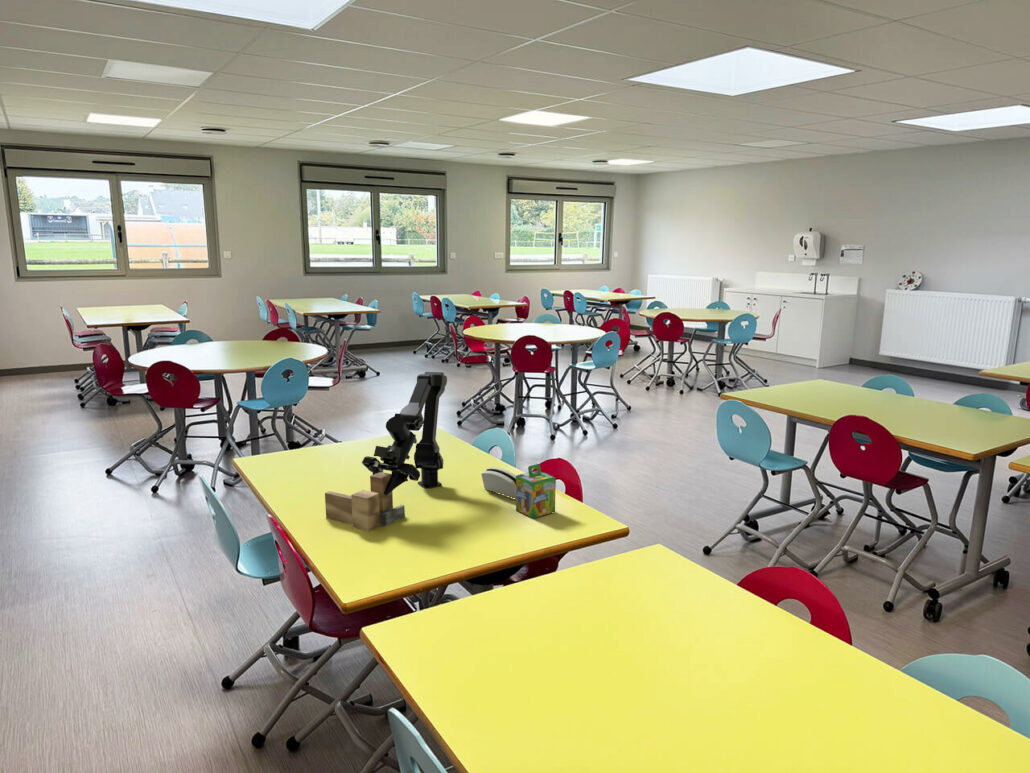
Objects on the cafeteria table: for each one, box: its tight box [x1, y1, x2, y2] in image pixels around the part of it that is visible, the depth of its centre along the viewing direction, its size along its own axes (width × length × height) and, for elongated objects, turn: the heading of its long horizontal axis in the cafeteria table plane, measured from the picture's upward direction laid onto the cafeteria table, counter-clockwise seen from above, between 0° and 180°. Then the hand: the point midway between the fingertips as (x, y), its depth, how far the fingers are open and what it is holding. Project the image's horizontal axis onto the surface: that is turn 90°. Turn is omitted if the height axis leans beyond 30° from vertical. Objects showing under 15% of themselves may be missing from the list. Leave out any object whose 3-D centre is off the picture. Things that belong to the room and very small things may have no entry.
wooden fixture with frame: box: [324, 489, 406, 532], centre depth 210 cm, size 14×20×10 cm
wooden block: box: [369, 471, 394, 513], centre depth 209 cm, size 5×5×12 cm
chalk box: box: [515, 463, 557, 519], centre depth 215 cm, size 9×9×15 cm
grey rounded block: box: [481, 466, 517, 499], centre depth 231 cm, size 17×5×10 cm, turn 45°
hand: (378, 493), depth 208 cm, fingers open, 5 cm apart
